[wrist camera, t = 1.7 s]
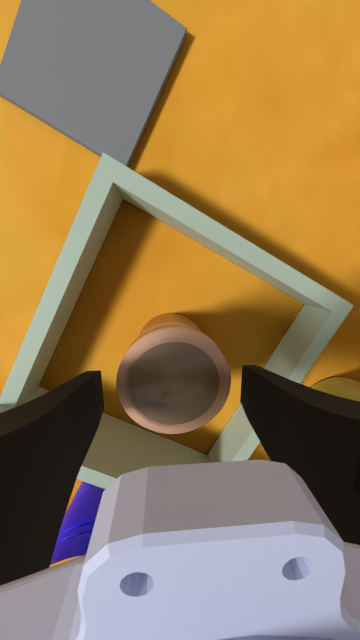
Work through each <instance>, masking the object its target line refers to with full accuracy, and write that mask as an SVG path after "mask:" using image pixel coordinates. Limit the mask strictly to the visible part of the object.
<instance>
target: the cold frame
mask: <svg viewBox="0 0 360 640" xmlns="http://www.w3.org/2000/svg"><path fill="white" fill-rule="evenodd" d="M123 199H124V200H126V201H128V202H129V203H131V204H133V205H135V206H136V207H138V208H140V209H141V210H143V211H145V212H147V213H148V214H150V215H152V216H153V217H155V218H157V219H159V220H160V221H162V222H164V223H165V224H167V225H169V226H171V227H172V228H174V229H176V230H177V231H179V232H181V233H183V234H184V235H186V236H188V237H189V238H191V239H193V240H195V241H196V242H198V243H200V244H201V245H203V246H205V247H207V248H208V249H210V250H212V251H213V252H215V253H217V254H219V255H220V256H222V257H224V258H225V259H227V260H229V261H231V262H232V263H234V264H236V265H237V266H239V267H241V268H243V269H244V270H246V271H248V272H249V273H251V274H253V275H255V276H256V277H258V278H260V279H261V280H263V281H265V282H267V283H268V284H270V285H272V286H273V287H275V288H277V289H279V290H280V291H282V292H284V293H285V294H287V295H289V296H291V297H292V298H294V299H296V300H297V301H299V302H301V303H303V304H304V306H303V307H302V309H301V310H300V312H299V313H298V315H297V316H296V318H295V320H294V321H293V323H292V324H291V326H290V327H289V329H288V330H287V332H286V333H285V335H284V337H283V338H282V340H281V341H280V343H279V344H278V346H277V347H276V349H275V351H274V352H273V354H272V355H271V357H270V358H269V360H268V361H267V363H266V364H265V366H264V369H267V370H269V371H271V372H273V373H276V374H278V375H280V376H282V377H285V378H287V379H289V380H292V381H294V382H297V383H299V384H300V383H301V382H302V380H303V379H304V377H305V376H306V374H307V373H308V372H309V370H310V369H311V367H312V366H313V364H314V363H315V361H316V360H317V359H318V357H319V356H320V354H321V353H322V351H323V350H324V348H325V347H326V345H327V344H328V343H329V341H330V340H331V338H332V337H333V335H334V334H335V332H336V331H337V329H338V328H339V327H340V325H341V324H342V322H343V321H344V319H345V318H346V316H347V315H348V314H349V312H350V311H351V309H352V308H353V306H354V305H352V304H351V303H349V302H348V301H346V300H344V299H343V298H341V297H339V296H338V295H336V294H334V293H333V292H331V291H330V290H328V289H326V288H325V287H323V286H321V285H320V284H318V283H316V282H315V281H313V280H311V279H310V278H308V277H307V276H305V275H303V274H302V273H300V272H298V271H297V270H295V269H293V268H292V267H290V266H289V265H287V264H285V263H284V262H282V261H280V260H279V259H277V258H275V257H274V256H272V255H271V254H269V253H267V252H266V251H264V250H262V249H261V248H259V247H257V246H256V245H254V244H253V243H251V242H249V241H248V240H246V239H244V238H243V237H241V236H239V235H238V234H236V233H235V232H233V231H231V230H230V229H228V228H226V227H225V226H223V225H221V224H220V223H218V222H216V221H215V220H213V219H212V218H210V217H208V216H207V215H205V214H203V213H202V212H200V211H198V210H197V209H195V208H194V207H192V206H190V205H189V204H187V203H185V202H184V201H182V200H180V199H179V198H177V197H176V196H174V195H172V194H171V193H169V192H167V191H166V190H164V189H162V188H161V187H159V186H158V185H156V184H154V183H153V182H151V181H149V180H148V179H146V178H144V177H143V176H141V175H140V174H138V173H136V172H135V171H133V170H131V169H130V168H128V167H126V166H125V165H123V164H121V163H120V162H118V161H117V160H115V159H113V158H112V157H110V156H108V155H107V154H105V153H102V156H101V158H100V160H99V163H98V165H97V168H96V170H95V172H94V175H93V177H92V179H91V182H90V184H89V187H88V189H87V191H86V194H85V196H84V199H83V201H82V203H81V206H80V208H79V210H78V213H77V215H76V218H75V220H74V222H73V225H72V227H71V229H70V232H69V234H68V237H67V239H66V241H65V244H64V246H63V249H62V251H61V253H60V256H59V258H58V260H57V263H56V265H55V268H54V270H53V272H52V275H51V277H50V279H49V282H48V284H47V287H46V289H45V291H44V294H43V296H42V299H41V301H40V303H39V306H38V308H37V310H36V313H35V315H34V318H33V320H32V322H31V325H30V327H29V329H28V332H27V334H26V337H25V339H24V341H23V344H22V346H21V349H20V351H19V353H18V356H17V358H16V360H15V363H14V365H13V368H12V370H11V372H10V375H9V377H8V379H7V382H6V384H5V387H4V389H3V391H2V394H1V396H0V413H1V412H4V411H7V410H10V409H12V408H15V407H17V406H19V405H22V404H24V403H27V402H29V401H31V400H33V399H35V398H37V397H39V396H41V395H43V394H45V393H47V392H49V390H47V389H44V388H42V387H39V384H40V382H41V380H42V377H43V375H44V373H45V371H46V369H47V366H48V364H49V362H50V360H51V357H52V355H53V353H54V351H55V349H56V346H57V344H58V342H59V340H60V337H61V335H62V333H63V331H64V329H65V326H66V324H67V322H68V320H69V318H70V315H71V313H72V311H73V309H74V306H75V304H76V302H77V300H78V298H79V295H80V293H81V291H82V289H83V286H84V284H85V282H86V280H87V278H88V275H89V273H90V271H91V269H92V267H93V264H94V262H95V260H96V258H97V255H98V253H99V251H100V249H101V247H102V244H103V242H104V240H105V238H106V235H107V233H108V231H109V229H110V227H111V224H112V222H113V220H114V218H115V216H116V213H117V211H118V209H119V207H120V204H121V202H122V200H123ZM259 443H260V440H259V439H258V437H257V435H256V433H255V432H254V430H253V428H252V426H251V424H250V423H249V421H248V419H247V417H246V414H245V412H244V409H243V407H242V404H241V403H240V405H239V406H238V408H237V409H236V411H235V412H234V414H233V416H232V417H231V419H230V420H229V422H228V423H227V425H226V426H225V428H224V429H223V431H222V433H221V434H220V436H219V437H218V439H217V440H216V442H215V443H214V445H213V447H212V448H211V450H210V451H209V453H208V454H207V455H206V454H203V453H201V452H199V451H196V450H194V449H191V448H189V447H186V446H184V445H181V444H179V443H177V442H174V441H172V440H169V439H167V438H164V437H162V436H159V435H157V434H154V433H152V432H150V431H147V430H145V429H142V428H140V427H137V426H135V425H132V424H130V423H128V422H125V421H123V420H120V419H118V418H115V417H113V416H110V415H108V414H105V413H102V417H101V421H100V424H99V427H98V429H97V432H96V434H95V436H94V439H93V441H92V443H91V445H90V448H89V450H88V452H87V455H86V457H85V459H84V461H83V464H82V466H81V468H80V471H79V473H78V476H77V478H76V479H78V480H81V481H84V482H86V483H89V484H92V485H95V486H98V487H101V488H104V489H107V488H108V487H109V486H110V485H111V484H112V483H113V482H114V481H115V480H116V479H117V478H118V477H119V476H120V475H122V474H125V473H129V472H132V471H136V470H139V469H142V468H146V467H153V466H168V465H183V464H199V463H214V462H229V461H245V460H248V459H249V457H250V456H251V454H252V453H253V451H254V450H255V449H256V447H257V446H258V444H259Z"/></svg>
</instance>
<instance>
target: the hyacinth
mask: <svg viewBox="0 0 360 640" xmlns="http://www.w3.org/2000/svg"><path fill="white" fill-rule="evenodd" d="M104 490H106V489H104V488H101V487H98V486H95V485H92V484H89V483H86V482H84V481H82V483H81V485H80V487H79V489H78V491H77V493H76V495H75V497H74V499H73V501H72V503H71V504H70V506H69V508H68V510H67V512H66V514H65V516H64V519H63V522H62V525H61V528H60V532H59V535H58V538H57V542H56V545H55V549H54V553H53V556H52V560H51V563H50V567H53V566H56V565H58V564H61V563H64V562H66V561H69V560H72V559H75V558H77V557H80V556H83V555H86V554H87V550H88V546H89V542H90V539H91V535H92V531H93V528H94V524H95V520H96V516H97V513H98V509H99V505H100V502H101V498H102V494H103V491H104ZM50 567H49V568H50Z"/></svg>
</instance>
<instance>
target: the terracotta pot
mask: <svg viewBox="0 0 360 640" xmlns="http://www.w3.org/2000/svg"><path fill="white" fill-rule="evenodd" d="M230 384H231V376H230V370H229V366H228V363H227V361H226V359H225V357H224V355H223V354H222V352H221V351H220V349H219V348H218V346H217V345H216V343H215V342H214V341H213V340H212V339H211V338H210V337H208V336H207V335H206V334H204V333H203V332H201V331H200V329H199V327H198V326H197V325H196V324H195V323H194V322H193V321H192V320H191V319H189V318H188V317H186V316H184V315H181V314H176V313H167V314H162V315H159V316H157V317H155V318H153V319H151V320H150V321H149V322H148V323H147V324H146V325H145V326H144V327H143V329H142V331H141V333H140V335H139V337H138V338H137V339H136V340H135V341H134V342H133V343H132V344H131V345H130V347H129V348H128V350H127V351H126V353H125V355H124V357H123V360H122V362H121V364H120V366H119V370H118V373H117V380H116V385H117V393H118V397H119V400H120V403H121V405H122V407H123V408H124V410H125V411H126V413H127V414H128V415H129V416H130V417H131V418H132V419H133V420H134V421H135V422H136V423H138V424H139V425H141V426H143V427H145V428H147V429H149V430H152V431H155V432H159V433H165V434H179V433H185V432H189V431H192V430H195V429H197V428H199V427H201V426H203V425H205V424H206V423H208V422H209V421H210V420H212V419H213V418H214V417H215V416H216V415H217V414H218V413H219V411H220V410H221V409H222V407H223V406H224V404H225V402H226V400H227V397H228V395H229V391H230Z"/></svg>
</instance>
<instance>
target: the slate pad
mask: <svg viewBox="0 0 360 640" xmlns="http://www.w3.org/2000/svg"><path fill="white" fill-rule="evenodd" d="M186 30H187V28H186V27H184V26H183V25H182V24H180V23H179V22H178V21H176V20H175V19H174V18H172V17H171V16H170V15H168V14H167V13H166V12H164V11H163V10H162V9H160V8H159V7H158V6H156V5H155V4H154V3H152V2H151V1H150V0H21V3H20V6H19V10H18V13H17V16H16V19H15V22H14V25H13V28H12V31H11V34H10V37H9V41H8V44H7V47H6V50H5V53H4V56H3V59H2V62H1V65H0V96H1V97H3V98H4V99H6V100H8V101H9V102H11V103H13V104H14V105H16V106H18V107H19V108H21V109H23V110H24V111H26V112H28V113H29V114H31V115H33V116H34V117H36V118H37V119H39V120H41V121H42V122H44V123H46V124H47V125H49V126H51V127H52V128H54V129H56V130H57V131H59V132H61V133H62V134H64V135H66V136H67V137H69V138H70V139H72V140H74V141H75V142H77V143H79V144H80V145H82V146H84V147H85V148H87V149H89V150H90V151H92V152H94V153H95V154H97V155H99V156H100V157H101V156H102V153H105V154H107V155H108V156H110V157H112V158H113V159H115V160H117V161H118V162H120V163H121V164H123V165H125V166H126V167H128V166H129V164H130V162H131V160H132V157H133V155H134V153H135V151H136V148H137V146H138V144H139V142H140V139H141V137H142V135H143V133H144V130H145V128H146V126H147V124H148V121H149V119H150V117H151V115H152V112H153V110H154V108H155V106H156V103H157V101H158V99H159V97H160V94H161V92H162V90H163V88H164V85H165V83H166V81H167V79H168V76H169V74H170V72H171V70H172V67H173V65H174V63H175V61H176V58H177V56H178V54H179V52H180V49H181V47H182V45H183V43H184V40H185V38H186Z"/></svg>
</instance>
